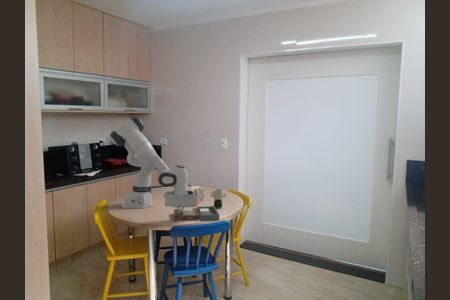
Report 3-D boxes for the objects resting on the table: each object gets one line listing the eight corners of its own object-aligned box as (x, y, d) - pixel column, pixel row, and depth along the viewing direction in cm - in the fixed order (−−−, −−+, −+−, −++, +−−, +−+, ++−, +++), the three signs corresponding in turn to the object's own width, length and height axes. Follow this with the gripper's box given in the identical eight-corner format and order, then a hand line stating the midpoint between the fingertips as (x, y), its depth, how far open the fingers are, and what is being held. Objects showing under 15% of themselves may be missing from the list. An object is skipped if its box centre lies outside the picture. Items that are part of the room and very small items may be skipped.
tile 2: (183, 215, 195) (183, 211, 195) (182, 212, 201) (182, 208, 201) (192, 215, 196) (192, 211, 196) (191, 212, 202) (191, 208, 202)
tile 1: (200, 215, 205) (200, 211, 204) (199, 212, 211) (199, 208, 210) (209, 214, 206) (209, 211, 206) (208, 211, 212) (208, 208, 212)
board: (174, 220, 193) (174, 216, 193) (173, 213, 208) (173, 209, 208) (200, 219, 197) (200, 215, 196) (197, 212, 211) (197, 208, 211)
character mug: (225, 206, 227) (225, 188, 226) (225, 209, 220) (226, 191, 219) (210, 206, 227) (210, 188, 226) (210, 209, 220) (210, 191, 219)
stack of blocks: (196, 198, 249) (196, 183, 247) (203, 198, 248) (204, 183, 246) (188, 205, 228) (188, 189, 227) (196, 206, 227) (196, 189, 225)
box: (200, 220, 195) (200, 215, 194) (197, 211, 213) (197, 206, 213) (219, 219, 197) (219, 214, 197) (214, 210, 216) (214, 206, 215)
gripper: (164, 192, 191) (164, 214, 192) (197, 191, 195) (196, 213, 196) (164, 190, 197) (164, 211, 199) (196, 189, 201) (195, 210, 202)
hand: (180, 212), depth 197 cm, fingers closed
